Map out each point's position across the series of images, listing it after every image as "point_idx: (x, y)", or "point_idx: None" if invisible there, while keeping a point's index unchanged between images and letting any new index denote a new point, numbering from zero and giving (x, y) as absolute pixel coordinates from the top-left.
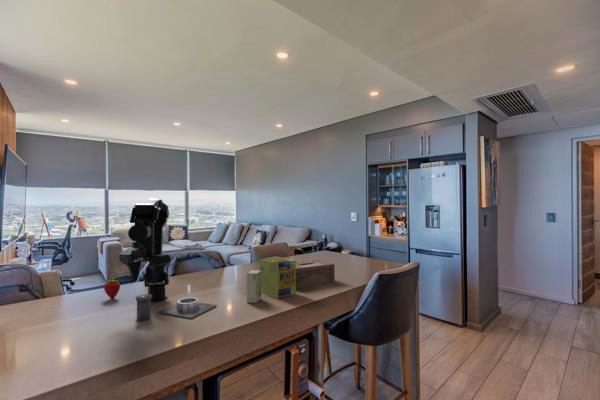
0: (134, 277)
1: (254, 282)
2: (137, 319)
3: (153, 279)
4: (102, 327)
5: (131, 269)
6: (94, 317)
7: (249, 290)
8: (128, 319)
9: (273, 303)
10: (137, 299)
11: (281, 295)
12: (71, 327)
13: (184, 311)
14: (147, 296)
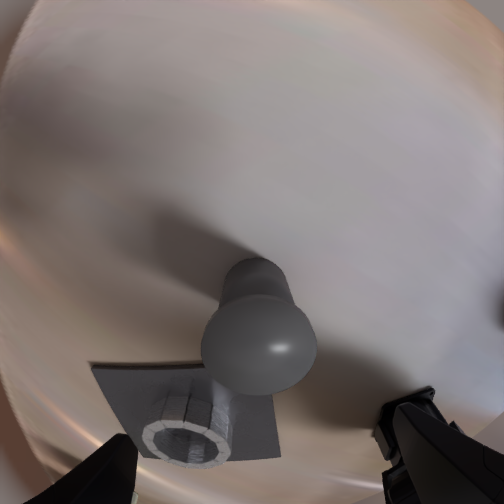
0: (413, 435)
1: None
2: (257, 259)
3: (88, 458)
4: (327, 126)
5: (483, 487)
6: (461, 187)
7: None
8: (318, 246)
9: None
10: (249, 298)
11: None
12: (429, 83)
13: (162, 400)
14: (229, 362)
